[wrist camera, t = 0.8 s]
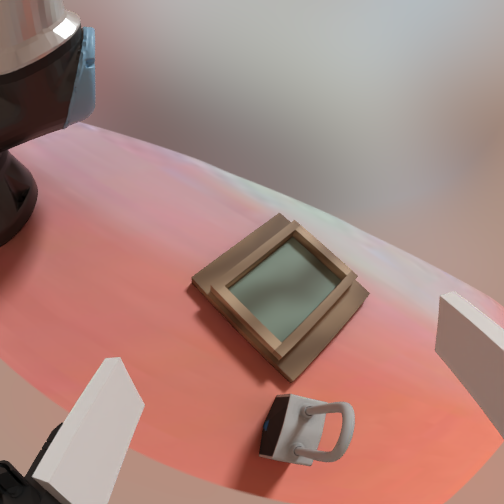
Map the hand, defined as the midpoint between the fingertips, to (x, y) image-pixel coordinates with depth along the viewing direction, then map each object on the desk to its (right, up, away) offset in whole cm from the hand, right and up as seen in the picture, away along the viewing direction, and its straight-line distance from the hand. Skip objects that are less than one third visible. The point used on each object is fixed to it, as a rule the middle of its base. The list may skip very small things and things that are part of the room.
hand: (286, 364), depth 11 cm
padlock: (+2, -13, +15) cm, 20 cm away
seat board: (+2, 0, +23) cm, 23 cm away
